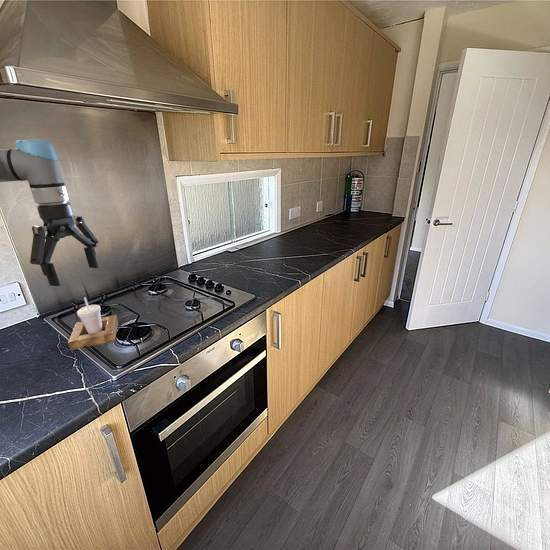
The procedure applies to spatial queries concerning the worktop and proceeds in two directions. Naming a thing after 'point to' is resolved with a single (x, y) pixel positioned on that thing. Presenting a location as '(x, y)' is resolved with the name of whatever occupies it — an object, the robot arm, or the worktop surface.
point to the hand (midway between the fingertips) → (75, 275)
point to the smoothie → (91, 317)
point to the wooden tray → (93, 334)
